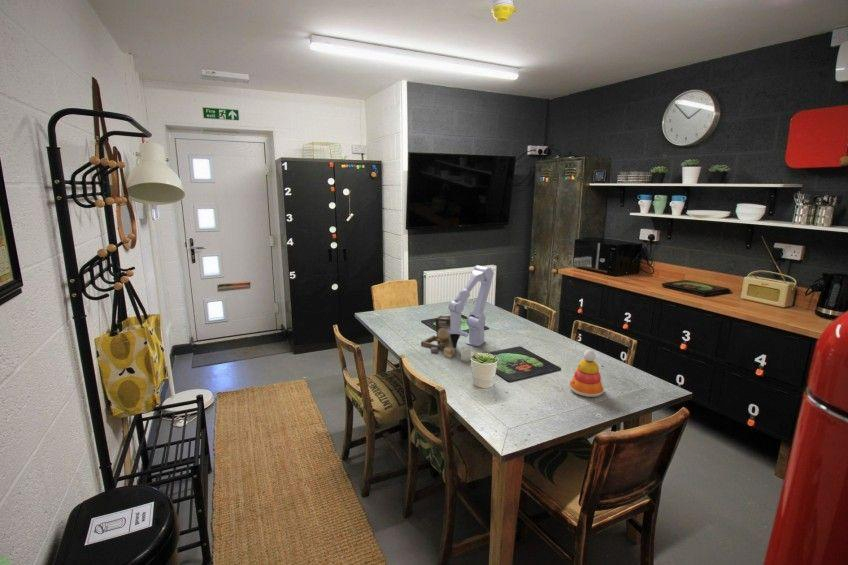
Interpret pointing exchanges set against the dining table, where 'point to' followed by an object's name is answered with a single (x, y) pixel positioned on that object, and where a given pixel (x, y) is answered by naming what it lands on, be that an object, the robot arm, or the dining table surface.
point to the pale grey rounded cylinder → (465, 354)
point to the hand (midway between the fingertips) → (454, 346)
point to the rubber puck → (434, 350)
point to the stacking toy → (587, 377)
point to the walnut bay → (427, 344)
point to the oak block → (449, 351)
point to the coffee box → (443, 331)
